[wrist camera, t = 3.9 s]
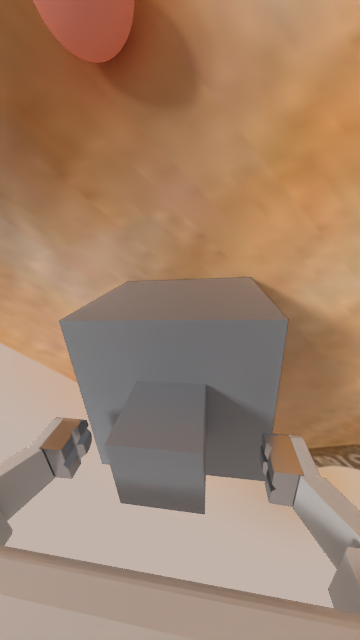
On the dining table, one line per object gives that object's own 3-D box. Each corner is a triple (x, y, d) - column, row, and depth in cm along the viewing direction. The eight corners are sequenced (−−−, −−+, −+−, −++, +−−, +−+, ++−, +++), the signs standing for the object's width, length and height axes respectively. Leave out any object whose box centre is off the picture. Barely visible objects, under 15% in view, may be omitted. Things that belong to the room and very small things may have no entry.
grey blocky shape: (142, 378, 22) (69, 533, 11) (127, 281, 18) (-14, 362, 7) (243, 382, 20) (284, 569, 9) (250, 277, 16) (336, 373, 5)
